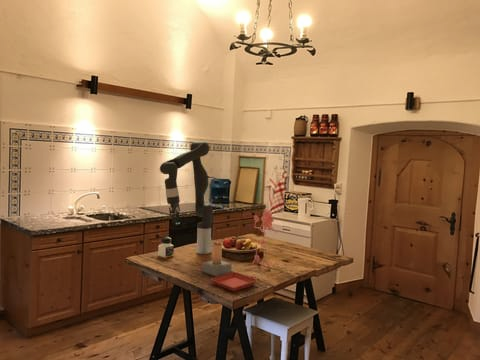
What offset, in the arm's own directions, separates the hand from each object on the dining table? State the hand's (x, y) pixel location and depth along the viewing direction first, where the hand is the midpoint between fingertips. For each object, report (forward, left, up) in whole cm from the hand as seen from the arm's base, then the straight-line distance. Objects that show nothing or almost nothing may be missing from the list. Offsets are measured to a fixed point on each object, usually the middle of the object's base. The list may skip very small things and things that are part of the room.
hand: (176, 221), depth 245 cm
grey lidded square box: (-8, +28, -26) cm, 39 cm away
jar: (-7, +28, -21) cm, 36 cm away
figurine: (-40, +39, -26) cm, 62 cm away
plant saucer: (0, +49, -27) cm, 56 cm away
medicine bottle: (-6, -17, -26) cm, 32 cm away
